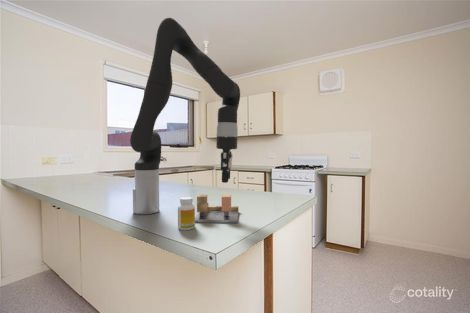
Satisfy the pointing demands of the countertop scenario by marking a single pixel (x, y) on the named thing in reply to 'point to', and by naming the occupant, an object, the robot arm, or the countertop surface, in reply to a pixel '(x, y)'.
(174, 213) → the countertop surface
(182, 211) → the supplement bottle
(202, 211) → the gauge rule
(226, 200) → the block
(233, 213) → the bolt plate
